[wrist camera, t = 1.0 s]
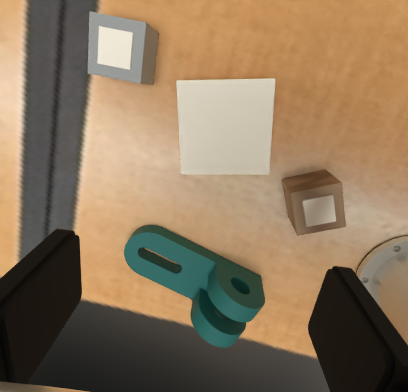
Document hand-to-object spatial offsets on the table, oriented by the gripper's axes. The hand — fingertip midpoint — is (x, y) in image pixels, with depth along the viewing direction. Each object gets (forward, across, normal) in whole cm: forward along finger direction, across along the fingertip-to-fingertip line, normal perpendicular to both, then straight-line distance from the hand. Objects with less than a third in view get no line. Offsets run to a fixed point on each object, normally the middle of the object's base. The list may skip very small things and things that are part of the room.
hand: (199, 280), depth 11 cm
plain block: (+24, -1, -3) cm, 24 cm away
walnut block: (+23, -12, +4) cm, 27 cm away
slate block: (+24, +10, -9) cm, 28 cm away
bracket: (+24, +1, +16) cm, 29 cm away
